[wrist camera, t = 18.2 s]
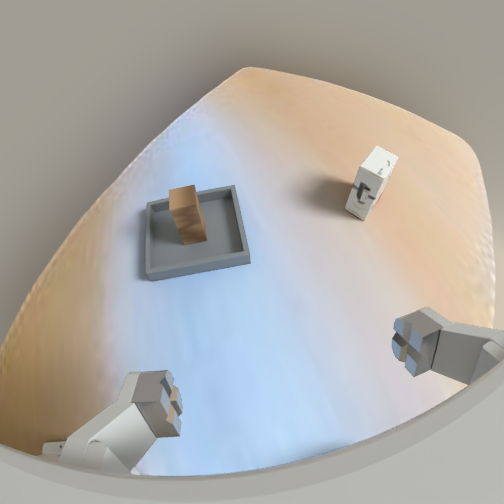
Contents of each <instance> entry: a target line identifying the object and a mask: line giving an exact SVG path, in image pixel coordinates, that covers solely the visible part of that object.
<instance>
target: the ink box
mask: <svg viewBox="0 0 504 504" xmlns="http://www.w3.org/2000/svg"><path fill="white" fill-rule="evenodd" d="M397 160H398V156H396V155H394V154H392V153H391V152H389V151H387V150H385V149H384V148H382V147H380V146H378V145H376V147H375V148H374V149H373V150H372V152H371V153H370V154H369V155H368V157H367V158H366V159H365V160H364V162H363V163H362V164H361V165H360V167H359V170H358V173H357V176H356V178H355V181H354V184H353V187H352V189H351V192H350V195H349V198H348V200H347V203H346V205H345V209H346V210H348V211H349V212H351V213H352V214H354V215H355V216H357V217H358V218H360V219H361V220H363V221H365V220H366V218H367V217H368V215H369V214H370V212H371V211H372V209H373V208H374V206H375V204H376V203H377V201H378V200H379V198H380V196H381V194H382V192H383V190H384V188H385V186H386V184H387V182H388V179H389V177H390V175H391V173H392V171H393V168H394V166H395V164H396V162H397Z"/></svg>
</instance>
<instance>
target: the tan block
mask: <svg viewBox="0 0 504 504" xmlns="http://www.w3.org/2000/svg"><path fill="white" fill-rule="evenodd" d="M169 210H170V213H171V215H172V217H173V220H174V222H175V224H176V227H177V229H178V231H179V233H180V236H181V238H182V240H183V242H184V245H189V244H194V243H200V242H205V241H207V235H206V228H205V221H204V218H203V214H202V211H201V207H200V204H199V200H198V197H197V193H196V189H195V186H194V185H191V186H186V187H181V188H177V189H172V190H169Z"/></svg>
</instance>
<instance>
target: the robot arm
mask: <svg viewBox="0 0 504 504" xmlns="http://www.w3.org/2000/svg"><path fill="white" fill-rule="evenodd" d="M393 329H394V330H395V331H396V333H395V335H394V337H393V338H392V350H393V353H394V355H395V357H396V358H397V359H398V360H399V361H402V362H405V368H406V369H407V370H408V371H409V372H410V373H411V375H412V376H413V377H415V376H418V375H420V374H422V373H424V372H426V371H428V370H432V371H434V372H437V373H439V374H442V375H444V376H447V377H449V378H452V379H454V380H457V381H460V382H462V383H465V384H467V385H468V386H467V387H465V388H464V389H462V390H461V391H459V392H458V393H456V394H455V395H453V396H451V397H450V398H448V399H447V400H445V401H443V402H442V403H440V404H438V405H436V406H435V407H433V408H431V409H429V410H428V411H426V412H424V413H422V414H420V415H418V416H416V417H414V418H413V419H411V420H409V421H407V422H405V423H402V424H400V425H398V426H396V427H394V428H392V429H390V430H387V431H385V432H383V433H380V434H378V435H376V436H373V437H371V438H368V439H366V440H363V441H360V442H358V443H355V444H352V445H349V446H347V447H344V448H341V449H338V450H335V451H331V452H328V453H325V454H322V455H318V456H315V457H311V458H307V459H303V460H299V461H295V462H291V463H286V464H282V465H277V466H272V467H266V468H261V469H255V470H248V471H241V472H233V473H224V474H212V475H196V476H150V475H141V474H140V472H139V471H138V470H137V469H136V468H135V465H136V464H137V463H138V462H139V461H140V459H141V458H142V457H143V456H144V454H145V453H146V452H147V451H148V449H149V448H150V447H151V446H152V444H153V443H154V442H155V441H156V439H157V438H161V437H177V436H180V430H181V421H180V419H179V416H180V415H181V413H182V409H183V405H182V398H181V394H180V392H179V389H178V388H177V387H176V386H174V385H173V382H174V378H173V376H172V374H171V372H170V371H169V370H162V371H148V372H133V373H129V374H127V376H126V378H125V381H124V384H123V386H122V389H121V392H120V394H119V397H118V400H117V402H116V403H112V404H111V405H109V406H108V407H107V408H106V409H104V410H103V411H102V412H100V413H99V414H98V415H97V416H95V417H94V418H93V419H91V420H90V421H89V422H87V423H86V424H85V425H83V426H82V427H81V428H80V429H78V430H77V431H76V432H74V433H73V434H72V435H70V436H69V437H68V438H67V441H59V442H47V443H44V445H43V448H42V455H37V456H34V455H31V454H28V453H25V452H22V451H19V450H16V449H14V448H11V447H8V446H6V445H3V444H1V443H0V504H504V331H503V330H498V329H491V328H485V327H479V326H474V325H468V324H462V323H456V322H455V323H451V322H450V321H449V320H447V319H446V318H444V317H443V316H441V315H440V314H439V313H437V312H436V311H434V310H433V309H431V308H430V307H424V308H422V309H419V310H417V311H416V312H413V313H411V314H408V315H405V316H402V317H400V318H397V319H396V320H395V322H394V328H393Z"/></svg>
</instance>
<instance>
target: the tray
mask: <svg viewBox="0 0 504 504" xmlns="http://www.w3.org/2000/svg"><path fill="white" fill-rule="evenodd" d="M196 193H197V197H198V200H199V204H200V207H201V211H202V214H203V218H204V221H205V228H206V235H207V241H205V242H200V243H194V244H189V245H184V242H183V240H182V238H181V236H180V233H179V231H178V229H177V227H176V224H175V222H174V220H173V217H172V215H171V213H170V210H169V198H166V199H161V200H157V201H152V202H148V203H147V207H146V240H145V267H146V275H147V276H148V277H149V279H150V280H151V281H157V280H163V279H168V278H174V277H180V276H185V275H191V274H196V273H202V272H207V271H213V270H218V269H223V268H229V267H234V266H239V265H245V264H250V263H251V262H250V252H249V248H248V243H247V239H246V234H245V230H244V225H243V221H242V216H241V212H240V207H239V203H238V198H237V194H236V189H235V185H232V186H226V187H221V188H215V189H210V190H205V191H199V192H196Z"/></svg>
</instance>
